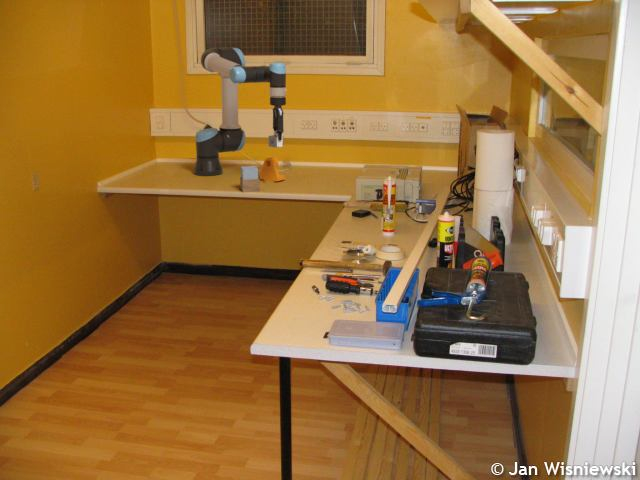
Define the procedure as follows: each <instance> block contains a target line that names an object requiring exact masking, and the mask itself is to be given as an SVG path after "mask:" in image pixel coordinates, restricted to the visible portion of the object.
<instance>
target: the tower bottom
mask: <svg viewBox="0 0 640 480" xmlns="http://www.w3.org/2000/svg"><path fill="white" fill-rule="evenodd" d="M260 180H261V179H260V178H259V177H258V179H248V180H243V179H242V177H241V176H240V177H239V182H240V183H239V185H240V191H241V192H242V193H254V192H260V191H261V186H260V185H261V184H260V182H261V181H260Z"/></svg>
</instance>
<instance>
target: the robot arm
mask: <svg viewBox="0 0 640 480" xmlns="http://www.w3.org/2000/svg"><path fill="white" fill-rule="evenodd" d="M200 65H201V66H202V68H203V69H204V70H206V71H208V72H210V73H218V75H219V76H220V78H221V124H220V125H219V129H218V128H216V127H215V128H214V127H212V128H211V127H210V128H204V129H200V130H198V131H197V132H196V133H195V151H196V161H195V164H194V168H193V172H194V173H193V174H194V175H195V176H203V177H204V176H205V177H207V176H210V177H211V176H217V175H218V176H219V175H222V174H223V166H222V163H221V160H220V158H219V157H220V154H219V153H230V152H239V151H241V150H242V149H244V147H245V144H246V133H245V131H244V129H242V126H241V125H240V124H239V85H241V84H250V83H252V84H253V83H257V84H259V83H268V84H269V96H270V97H269V105H270V106H273V108H272V129H273V135H277V148H283V147H284V134H283V133H284V109H282V108H283V107H282V106H286V104H287V98H286V95H287V94H286V93H287V91H288V89H287V88H286V87H287V86H286V85H287V74H286V73H287V71H286V64H285V62H270V63H269V65H259V66H258V65H257V66H256V65H255V66H254V65H253V66H252V65H251V66H246V59H245V55H244V53H243V51H242V50H241V49H239V48H238V47H237V48H236V47H211V48H208V49H206V50H204V51H203V52H202V54H201V56H200Z"/></svg>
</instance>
